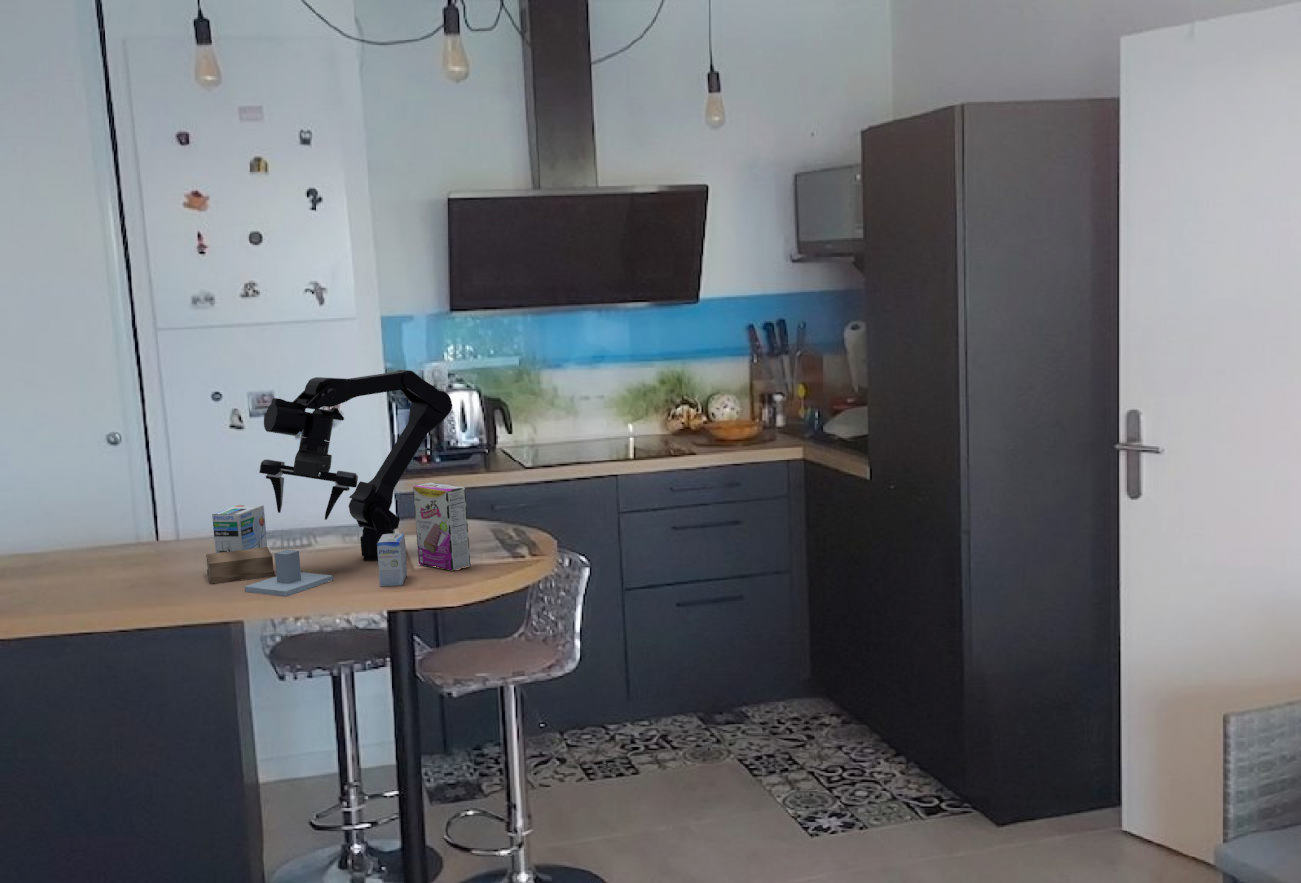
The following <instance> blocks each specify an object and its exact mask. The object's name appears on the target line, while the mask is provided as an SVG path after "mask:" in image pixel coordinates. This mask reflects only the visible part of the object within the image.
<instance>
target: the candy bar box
mask: <svg viewBox="0 0 1301 883" xmlns="http://www.w3.org/2000/svg"><path fill="white" fill-rule="evenodd" d="M412 491H413V492H412V493H413V505H414V519H415V531H416V532H415V533H416V544H417V556H418V557H417V558H418V565H419V564H420V566H424V565H426V566H425V567H429V566H436V567H439V568H444V569H449V570H456V569H459V568H462V567H466V566H470V567H471V554H470V540H469V527H468V526H469V525H468V515H467V514H468V513H467V512H468V511H467V510H468V509H467V499H466V498H467V496H466V487H464V486H457V485H450V484H444V483H436V482H427V483H422V484H416V485H413V486H412ZM439 568H438V569H439ZM444 569H443V570H444ZM449 570H448V571H449Z"/></svg>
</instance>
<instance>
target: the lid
mask: <svg viewBox="0 0 1301 883" xmlns="http://www.w3.org/2000/svg"><path fill="white" fill-rule="evenodd" d="M300 561H301V559H300V551H299V550H296V549H295V550H294V549H283V550H281V551H277V552H274V562H275V575H276V576H272V577H270V578H267V579H265V580H264V579H263V580H261V581H258V582H254V583H251V584H248V585H244V592H245V593H251V592H252V593H251V594H259V593H261V594H260V595H269V596H278V597H279V596H280V597H285V598H286V597H290V596H292V595H295V594H297V593H301V592H304V591H306V590H309V589H312V587H313V588H316V587H318V586H317V585H319V586H321V585H320V584H322V585H324V584H323V583H325V584H327V583H326V582H328V581H331V580H333V581H334V576H333V575H331V574H323V573H312V572H303V571H302V570H301V562H300ZM331 582H332V581H331ZM328 583H329V582H328ZM315 586H316V587H315Z"/></svg>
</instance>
